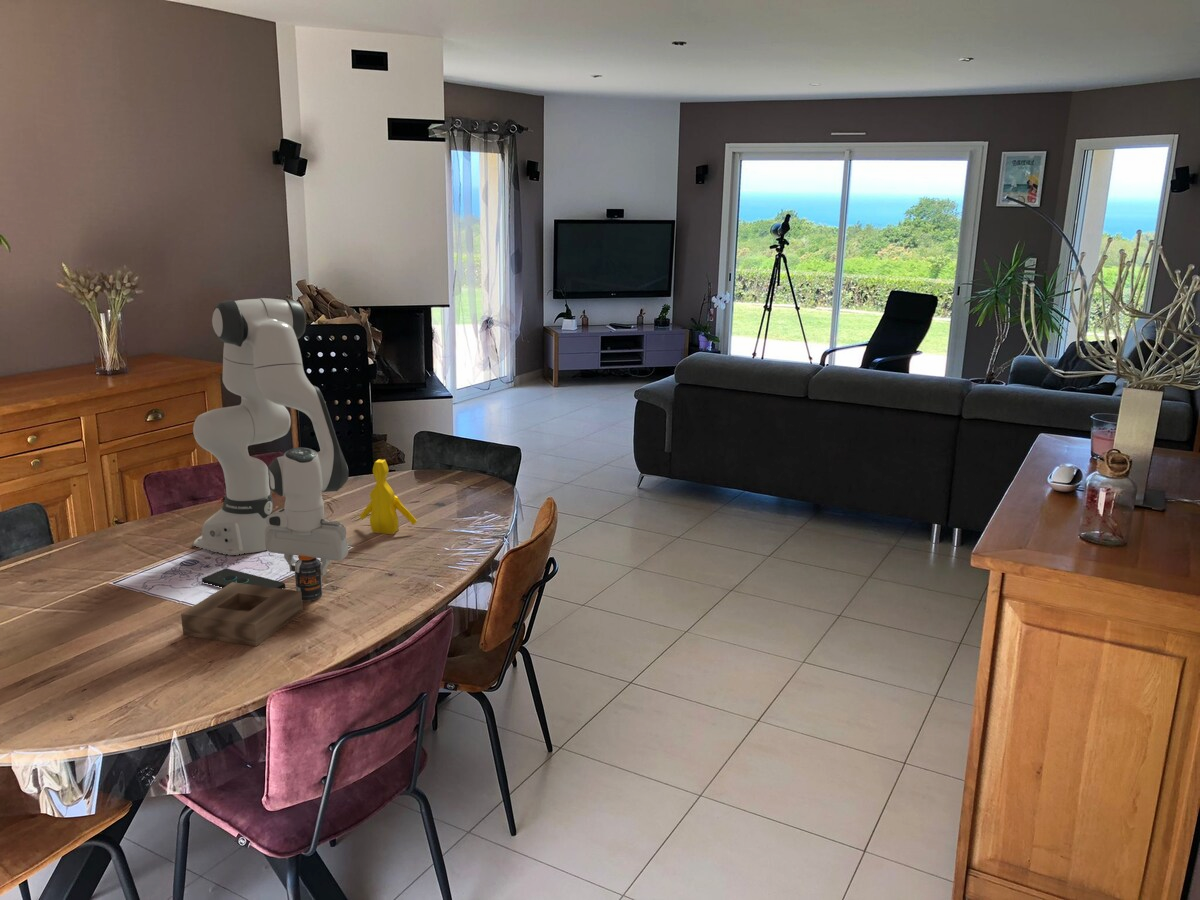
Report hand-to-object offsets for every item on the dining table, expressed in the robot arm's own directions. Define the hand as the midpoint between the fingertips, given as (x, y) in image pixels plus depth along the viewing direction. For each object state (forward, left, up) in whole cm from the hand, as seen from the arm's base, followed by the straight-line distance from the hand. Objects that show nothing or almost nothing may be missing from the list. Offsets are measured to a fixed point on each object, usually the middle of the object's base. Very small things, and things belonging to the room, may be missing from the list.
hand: (308, 572), depth 219 cm
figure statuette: (-3, +46, -6) cm, 47 cm away
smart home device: (-19, +1, -7) cm, 20 cm away
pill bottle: (0, 0, -6) cm, 6 cm away
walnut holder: (-6, -17, -6) cm, 19 cm away
